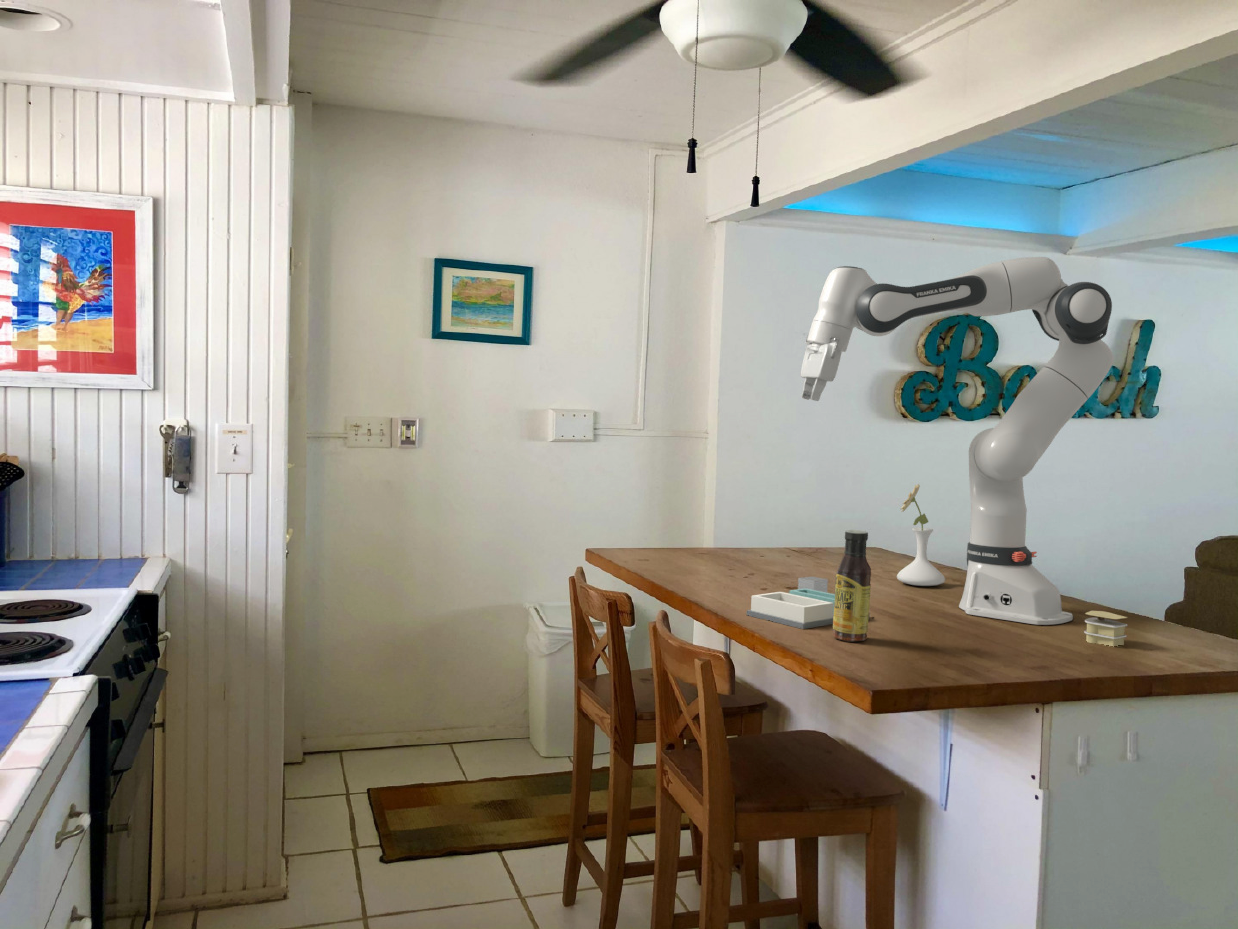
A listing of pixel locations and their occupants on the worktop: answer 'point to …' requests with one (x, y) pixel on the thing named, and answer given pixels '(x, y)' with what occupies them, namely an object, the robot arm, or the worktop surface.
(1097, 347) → the robot arm
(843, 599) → the sauce bottle
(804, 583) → the steel block
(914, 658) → the worktop surface
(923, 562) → the flower in vase
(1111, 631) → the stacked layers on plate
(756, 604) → the holder
